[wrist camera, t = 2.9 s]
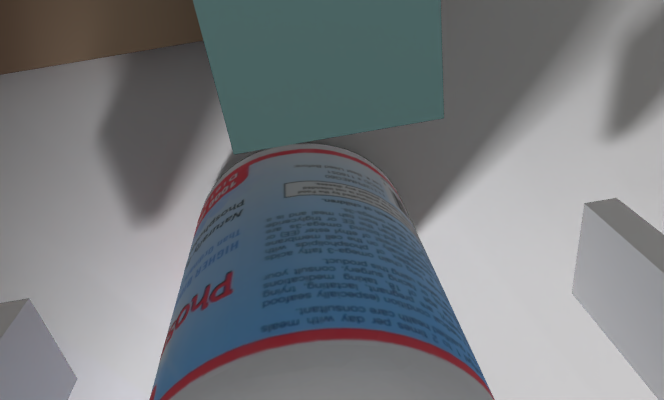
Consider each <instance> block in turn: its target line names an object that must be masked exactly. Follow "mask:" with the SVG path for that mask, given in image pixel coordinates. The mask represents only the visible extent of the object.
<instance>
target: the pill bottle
mask: <svg viewBox="0 0 664 400" xmlns="http://www.w3.org/2000/svg"><path fill="white" fill-rule="evenodd" d="M150 400H494V398H493V395H492V393H491V391H490V389H489V387H488V385H487V383H486V380H485V378H484V376H483V374H482V372H481V370H480V367H479V365H478V363H477V361H476V359H475V357H474V354H473V352H472V350H471V348H470V346H469V344H468V342H467V340H466V337H465V335H464V333H463V331H462V329H461V327H460V324H459V322H458V320H457V318H456V316H455V314H454V311H453V309H452V307H451V305H450V303H449V301H448V298H447V296H446V294H445V292H444V290H443V288H442V286H441V283H440V281H439V279H438V277H437V275H436V273H435V271H434V268H433V266H432V264H431V262H430V260H429V258H428V256H427V253H426V251H425V249H424V247H423V245H422V243H421V241H420V239H419V236H418V234H417V232H416V230H415V228H414V226H413V224H412V221H411V219H410V217H409V215H408V213H407V211H406V209H405V206H404V204H403V202H402V200H401V198H400V197H399V195H398V193H397V191H396V189H395V187H394V186H393V184H392V183H391V182H390V180H389V179H388V178H387V177H386V176H385V174H384V173H383V172H382V171H381V170H380V169H378V168H377V167H376V166H375V165H374V164H372V163H371V162H370V161H368V160H367V159H365V158H363V157H362V156H360V155H358V154H356V153H353V152H351V151H349V150H346V149H342V148H339V147H335V146H330V145H323V144H292V145H286V146H280V147H274V148H270V149H267V150H263V151H261V152H258V153H256V154H253V155H251V156H249V157H247V158H245V159H243V160H242V161H240V162H239V163H237V164H236V165H234V166H233V167H232V168H230V169H229V170H228V171H227V172H226V173H225V174H224V175H223V176H222V177H221V178H220V179H219V180H218V182H217V183H216V184H215V186H214V187H213V188H212V190H211V191H210V193H209V195H208V197H207V199H206V201H205V203H204V206H203V208H202V211H201V214H200V217H199V220H198V224H197V227H196V231H195V234H194V238H193V242H192V246H191V250H190V253H189V257H188V260H187V264H186V267H185V271H184V275H183V279H182V282H181V286H180V290H179V293H178V297H177V301H176V304H175V308H174V312H173V315H172V319H171V323H170V326H169V330H168V334H167V337H166V340H165V344H164V347H163V351H162V354H161V358H160V363H159V366H158V370H157V374H156V378H155V382H154V385H153V389H152V393H151V397H150Z"/></svg>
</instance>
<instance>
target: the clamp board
mask: <svg viewBox="0 0 664 400" xmlns="http://www.w3.org/2000/svg"><path fill="white" fill-rule="evenodd" d="M198 41H203V37H202V33H201V29H200V26H199V22H198V18H197V14H196V11H195V7H194V3H193V0H0V75H1V74H7V73H13V72H19V71H25V70H31V69H37V68H43V67H49V66H55V65H61V64H67V63H73V62H79V61H85V60H91V59H97V58H103V57H109V56H115V55H121V54H127V53H132V52H138V51H144V50H150V49H156V48H162V47H168V46H174V45H180V44H186V43H192V42H198Z"/></svg>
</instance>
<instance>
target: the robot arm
mask: <svg viewBox="0 0 664 400" xmlns="http://www.w3.org/2000/svg"><path fill="white" fill-rule="evenodd" d="M572 294H573V295H574V297H575V298H576V299H577V300H578V301H579V303H580V304H581V305H582V306H583V308H584V309H585V310H586V311H587V312H588V314H589V315H590V316H591V317H592V319H593V320H594V321H595V322H596V324H597V325H598V326H599V327H600V328H601V330H602V331H603V332H604V333H605V335H606V336H607V337H608V338H609V339H610V341H611V342H612V343H613V344H614V346H615V347H616V348H617V349H618V351H619V352H620V353H621V354H622V355H623V357H624V358H625V359H626V360H627V362H628V363H629V364H630V365H631V366H632V368H633V369H634V370H635V371H636V373H637V374H638V375H639V376H640V378H641V379H642V380H643V381H644V382H645V384H646V385H647V386H648V387H649V389H650V390H651V391H652V392H653V393H654V395H655V396H656V397H657V398H658V400H664V235H663V234H662V233H661V232H660V231H658V230H657V229H656V228H654V227H653V226H652V225H651V224H649V223H648V222H647V221H645V220H644V219H643V218H642V217H640V216H639V215H638V214H636V213H635V212H634V211H633V210H631V209H630V208H629V207H627V206H626V205H625V204H624V203H622V202H621V201H620V200H618V199H617V198H613V199H607V200H601V201H596V202H590V203H584V210H583V217H582V224H581V231H580V238H579V245H578V253H577V260H576V267H575V274H574V281H573V288H572ZM76 380H77V377H76V376H75V374H74V372H73V371H72V369H71V367H70V366H69V364H68V362H67V361H66V359H65V357H64V356H63V354H62V352H61V351H60V349H59V347H58V346H57V344H56V342H55V341H54V339H53V337H52V335H51V334H50V332H49V330H48V329H47V327H46V325H45V324H44V322H43V320H42V319H41V317H40V315H39V314H38V312H37V310H36V309H35V307H34V305H33V304H32V302H31V300H30V299H29V298H28V299H22V300H16V301H10V302H4V303H0V400H68V398H69V395H70V393H71V391H72V389H73V387H74V385H75V383H76Z"/></svg>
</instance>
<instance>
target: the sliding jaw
mask: <svg viewBox="0 0 664 400" xmlns="http://www.w3.org/2000/svg"><path fill="white" fill-rule="evenodd" d="M193 3H194V7H195V11H196V14H197V18H198V22H199V26H200V29H201V33H202V37H203V41H204V44H205V48H206V52H207V56H208V59H209V63H210V67H211V71H212V74H213V78H214V82H215V86H216V89H217V93H218V97H219V101H220V104H221V108H222V112H223V116H224V119H225V123H226V127H227V131H228V134H229V138H230V142H231V146H232V149H233V153H234V154H239V153H245V152H251V151H257V150H263V149H268V148H274V147H280V146H286V145H292V144H297V143H303V142H309V141H315V140H321V139H326V138H332V137H338V136H344V135H350V134H355V133H361V132H367V131H373V130H379V129H384V128H390V127H396V126H402V125H408V124H413V123H419V122H425V121H431V120H437V119H442V118H444V99H443V65H442V30H441V0H193Z"/></svg>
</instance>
